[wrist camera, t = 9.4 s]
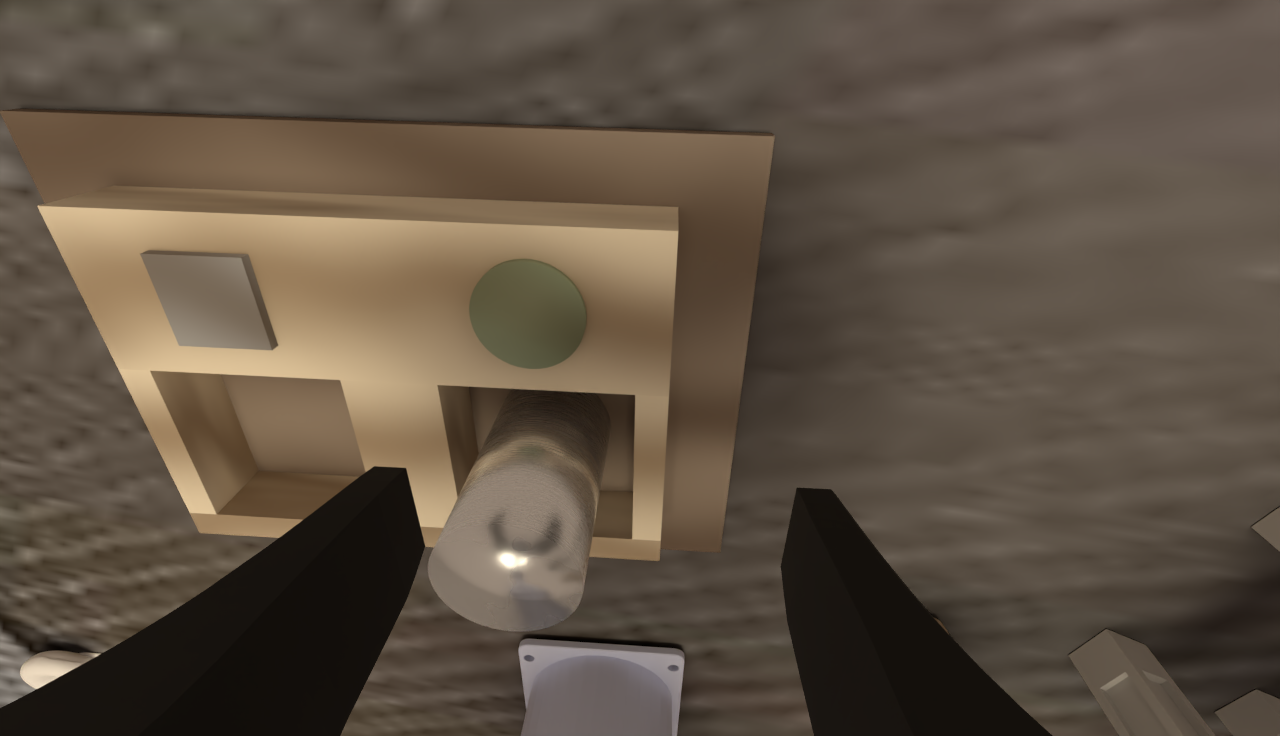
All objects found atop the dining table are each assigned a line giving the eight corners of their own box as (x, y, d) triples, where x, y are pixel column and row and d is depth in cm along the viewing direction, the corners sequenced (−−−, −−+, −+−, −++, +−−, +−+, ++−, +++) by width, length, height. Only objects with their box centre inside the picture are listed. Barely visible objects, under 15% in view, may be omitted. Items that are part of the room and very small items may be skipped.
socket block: (719, 541, 24) (724, 609, 21) (210, 511, 25) (149, 572, 22) (771, 133, 16) (791, 153, 13) (20, 108, 17) (-113, 122, 14)
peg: (611, 469, 22) (584, 636, 16) (506, 463, 22) (440, 626, 16) (610, 378, 20) (581, 529, 14) (495, 372, 20) (415, 519, 14)
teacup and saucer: (26, 628, 31) (-58, 705, 27) (171, 642, 31) (106, 721, 27) (93, 719, 35) (28, 795, 32) (220, 732, 35) (169, 809, 32)
